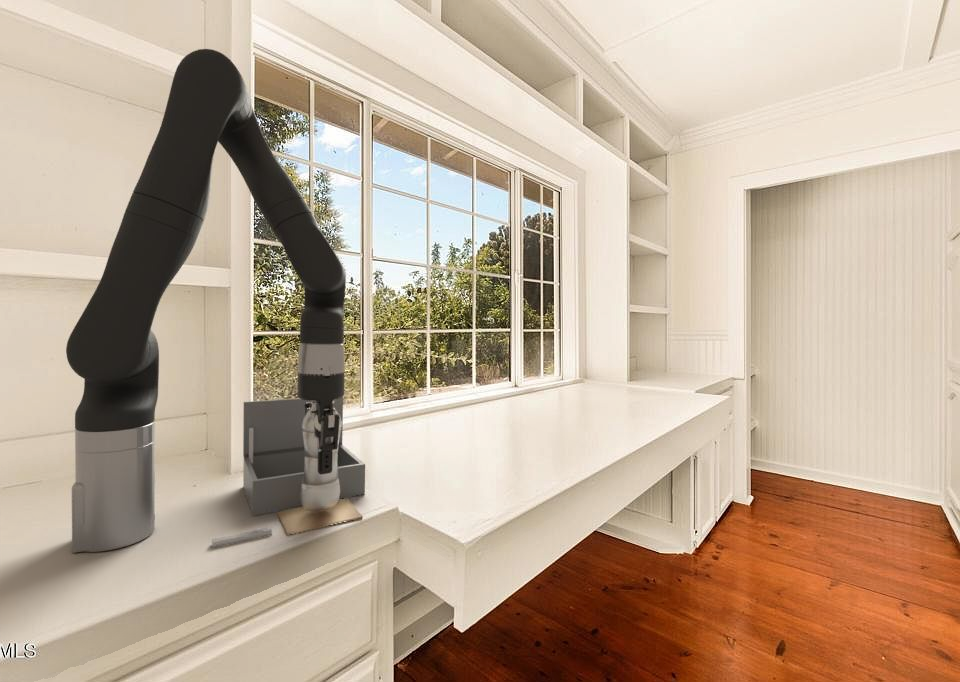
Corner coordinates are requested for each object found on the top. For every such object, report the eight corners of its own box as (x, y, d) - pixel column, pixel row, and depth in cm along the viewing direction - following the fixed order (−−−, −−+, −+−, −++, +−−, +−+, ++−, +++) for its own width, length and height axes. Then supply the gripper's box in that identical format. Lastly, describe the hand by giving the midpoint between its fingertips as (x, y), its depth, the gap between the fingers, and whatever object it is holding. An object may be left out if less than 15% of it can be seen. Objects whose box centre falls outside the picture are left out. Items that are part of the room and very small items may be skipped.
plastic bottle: (290, 510, 75) (292, 392, 74) (322, 497, 81) (323, 388, 80) (318, 519, 72) (320, 396, 71) (348, 505, 78) (350, 391, 77)
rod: (212, 550, 65) (212, 542, 65) (211, 547, 66) (211, 539, 66) (272, 537, 69) (272, 529, 69) (270, 534, 70) (270, 526, 70)
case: (252, 516, 75) (253, 417, 75) (243, 485, 89) (243, 401, 89) (364, 494, 86) (366, 408, 86) (340, 470, 100) (342, 395, 99)
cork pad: (287, 535, 69) (287, 532, 69) (277, 513, 77) (277, 511, 77) (362, 518, 76) (362, 516, 76) (347, 500, 83) (347, 498, 83)
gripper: (290, 366, 79) (288, 459, 80) (307, 375, 67) (306, 485, 68) (332, 365, 83) (331, 454, 84) (356, 373, 71) (354, 476, 72)
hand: (320, 467), depth 76 cm, fingers closed on plastic bottle, 5 cm apart
